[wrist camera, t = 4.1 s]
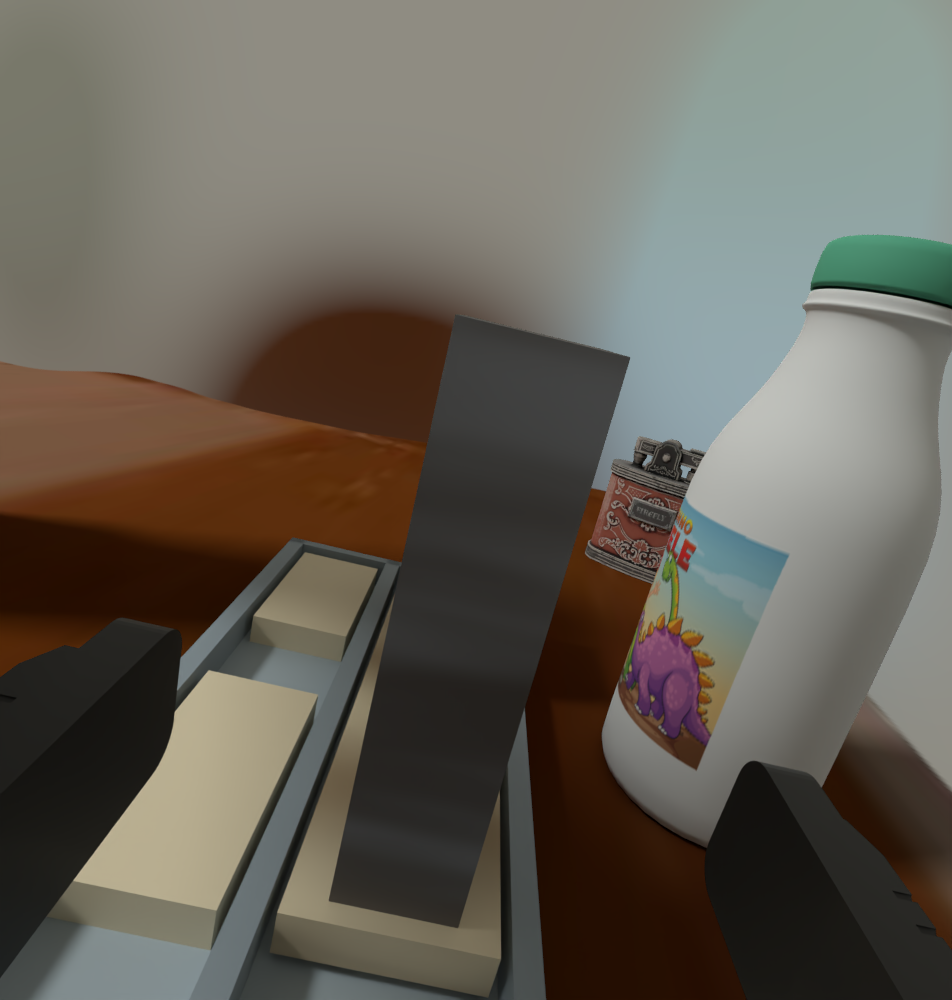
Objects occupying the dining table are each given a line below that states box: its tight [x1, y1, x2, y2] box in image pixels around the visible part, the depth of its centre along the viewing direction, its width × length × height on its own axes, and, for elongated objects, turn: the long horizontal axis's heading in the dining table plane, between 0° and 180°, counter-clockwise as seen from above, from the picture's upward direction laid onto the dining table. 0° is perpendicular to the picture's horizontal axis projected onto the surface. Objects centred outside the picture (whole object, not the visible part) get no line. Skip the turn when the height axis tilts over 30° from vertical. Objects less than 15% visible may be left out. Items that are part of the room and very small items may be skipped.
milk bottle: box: [602, 235, 952, 848], centre depth 21 cm, size 8×8×20 cm
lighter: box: [585, 437, 706, 584], centre depth 45 cm, size 8×3×10 cm, turn 63°
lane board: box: [0, 538, 546, 1000], centre depth 18 cm, size 31×12×2 cm, turn 178°
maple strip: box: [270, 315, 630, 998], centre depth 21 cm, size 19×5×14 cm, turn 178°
